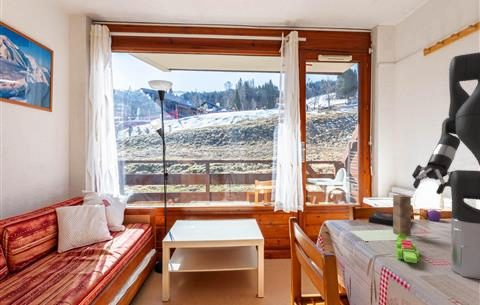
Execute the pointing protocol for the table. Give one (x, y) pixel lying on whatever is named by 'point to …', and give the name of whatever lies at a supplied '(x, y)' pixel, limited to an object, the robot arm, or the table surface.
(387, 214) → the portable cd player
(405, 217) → the walnut block
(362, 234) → the sage mat
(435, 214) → the kendama
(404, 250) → the toy crocodile
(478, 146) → the robot arm
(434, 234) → the table surface
